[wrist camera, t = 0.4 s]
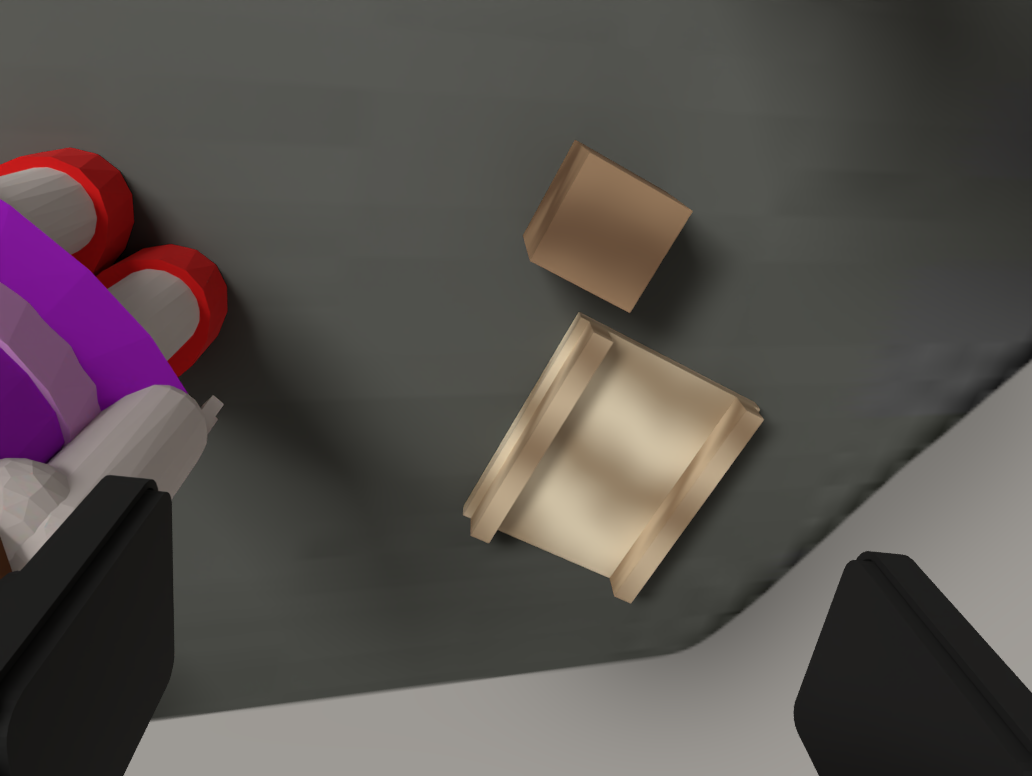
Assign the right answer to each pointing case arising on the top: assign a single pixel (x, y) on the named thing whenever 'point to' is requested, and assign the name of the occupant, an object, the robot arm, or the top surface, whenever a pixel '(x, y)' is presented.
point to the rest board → (611, 456)
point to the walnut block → (603, 227)
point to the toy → (91, 346)
